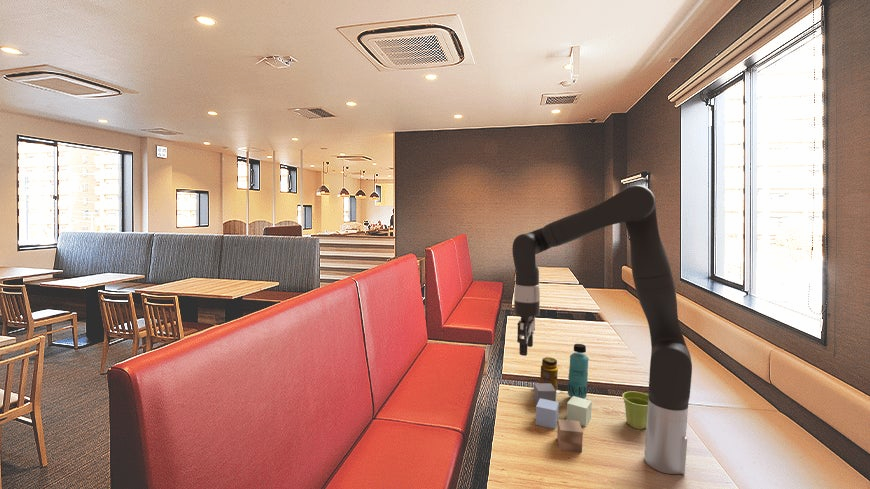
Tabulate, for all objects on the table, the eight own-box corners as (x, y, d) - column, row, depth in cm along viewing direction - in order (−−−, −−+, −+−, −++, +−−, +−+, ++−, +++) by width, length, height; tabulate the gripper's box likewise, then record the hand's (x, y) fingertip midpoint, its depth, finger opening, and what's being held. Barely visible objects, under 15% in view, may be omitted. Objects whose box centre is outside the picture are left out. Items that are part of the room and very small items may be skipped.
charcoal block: (550, 399, 147) (551, 383, 146) (555, 408, 141) (556, 391, 140) (533, 399, 147) (534, 383, 146) (537, 407, 141) (538, 391, 140)
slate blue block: (558, 419, 133) (558, 402, 133) (555, 429, 128) (555, 410, 127) (539, 415, 136) (539, 398, 135) (535, 424, 130) (536, 406, 130)
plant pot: (653, 435, 124) (655, 408, 124) (619, 427, 129) (621, 400, 128) (654, 421, 133) (655, 395, 132) (621, 414, 137) (623, 388, 136)
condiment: (561, 392, 153) (563, 360, 151) (546, 398, 148) (547, 365, 147) (546, 384, 159) (547, 354, 157) (530, 390, 154) (532, 359, 153)
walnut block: (578, 440, 122) (579, 421, 121) (581, 452, 116) (582, 432, 115) (557, 438, 123) (557, 419, 122) (559, 450, 117) (560, 430, 116)
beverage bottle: (565, 394, 150) (568, 341, 148) (584, 395, 150) (587, 342, 148) (569, 403, 144) (571, 347, 142) (588, 404, 143) (591, 348, 141)
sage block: (590, 418, 134) (591, 400, 133) (585, 426, 129) (586, 408, 129) (572, 413, 138) (572, 395, 137) (566, 420, 133) (567, 403, 132)
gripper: (534, 305, 118) (534, 360, 120) (543, 295, 131) (542, 345, 133) (508, 302, 121) (508, 356, 123) (519, 293, 134) (519, 342, 136)
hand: (526, 350), depth 128 cm, fingers open, 8 cm apart
